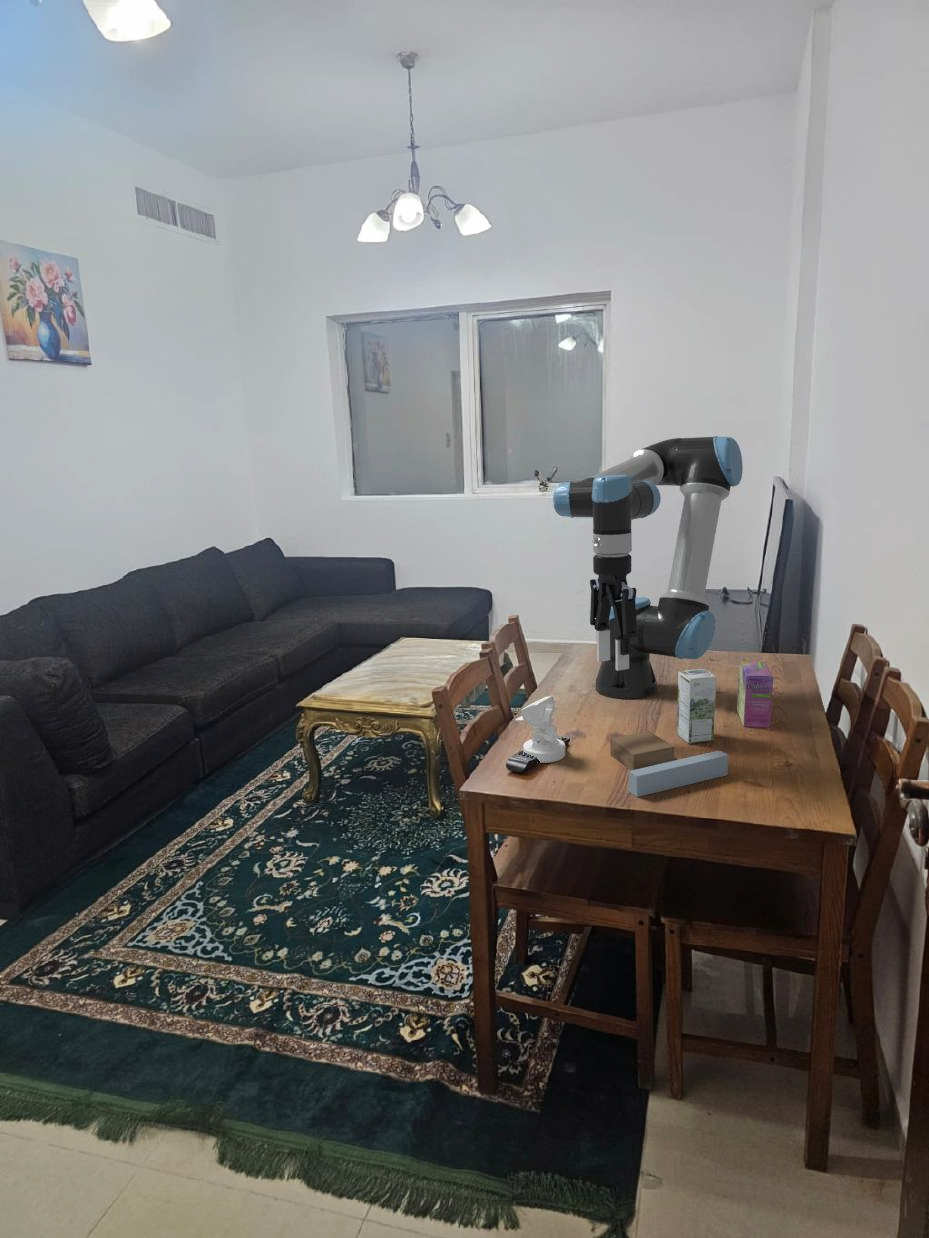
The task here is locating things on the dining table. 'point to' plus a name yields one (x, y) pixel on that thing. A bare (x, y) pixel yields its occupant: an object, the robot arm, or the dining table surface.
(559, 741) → the character figurine
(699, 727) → the syrup box
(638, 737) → the block
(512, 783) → the dining table surface
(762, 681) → the box
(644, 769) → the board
